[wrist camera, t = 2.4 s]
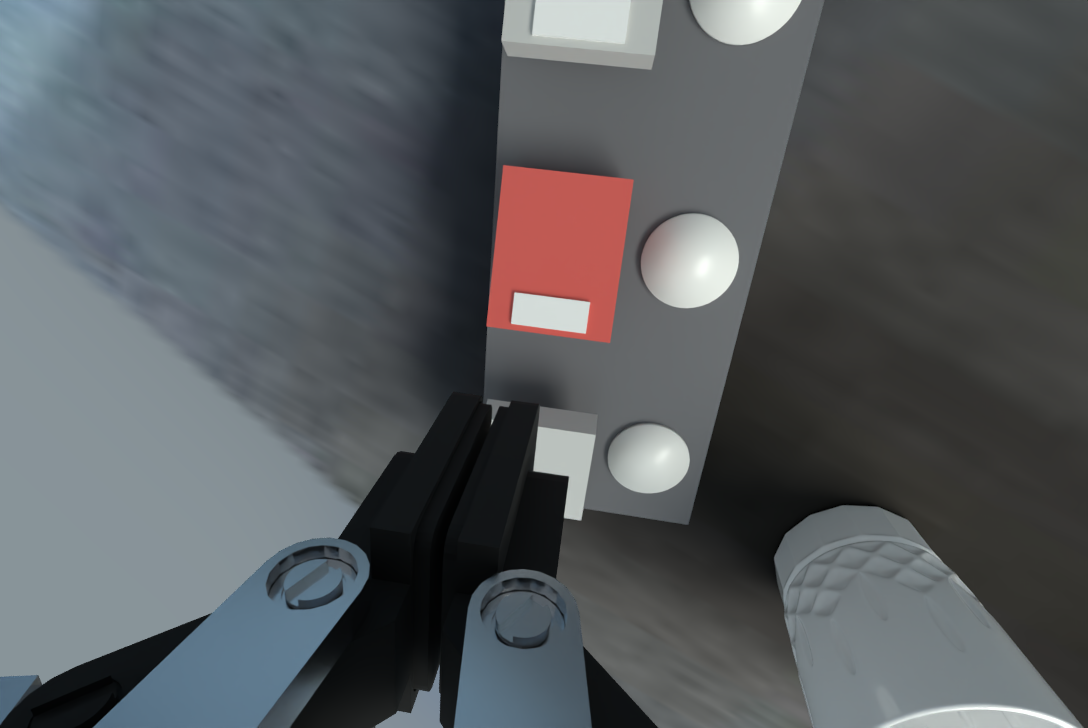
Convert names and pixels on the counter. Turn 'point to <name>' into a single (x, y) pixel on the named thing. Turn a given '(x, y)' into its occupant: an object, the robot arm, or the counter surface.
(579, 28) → the outlet rocker
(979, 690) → the white cup
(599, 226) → the outlet rocker
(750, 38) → the power strip
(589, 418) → the rocker outlet
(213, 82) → the counter surface
